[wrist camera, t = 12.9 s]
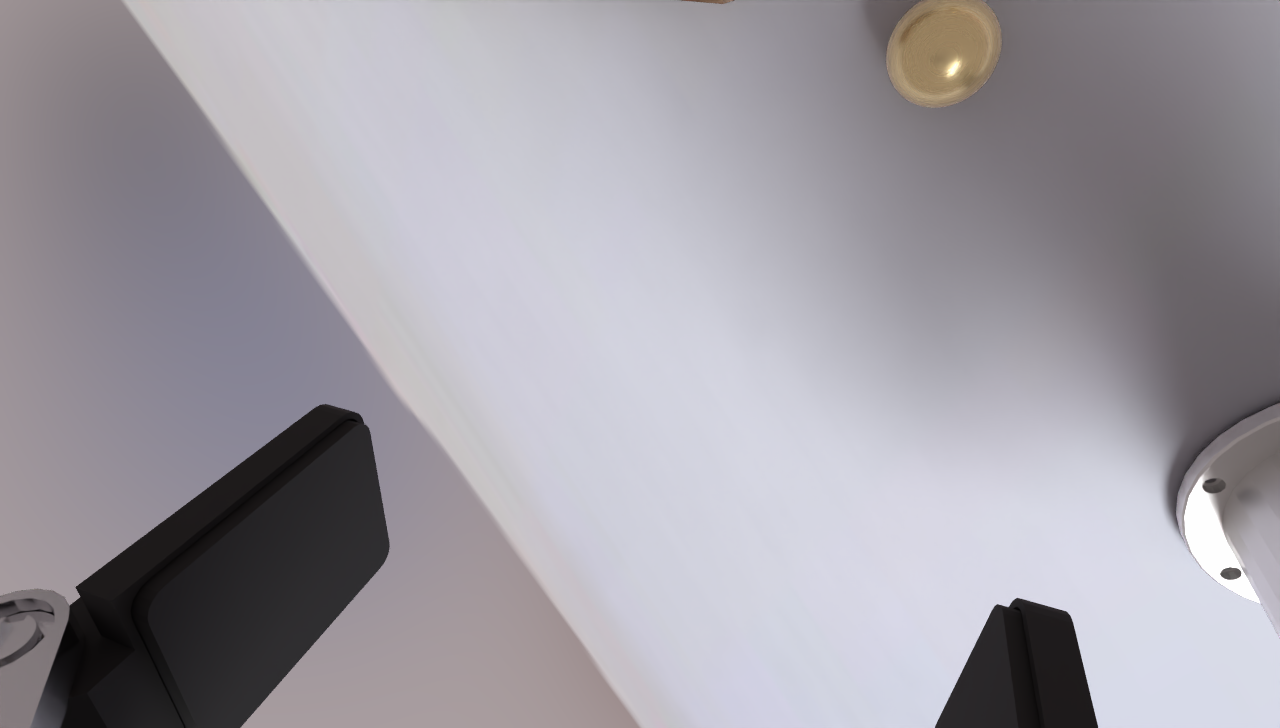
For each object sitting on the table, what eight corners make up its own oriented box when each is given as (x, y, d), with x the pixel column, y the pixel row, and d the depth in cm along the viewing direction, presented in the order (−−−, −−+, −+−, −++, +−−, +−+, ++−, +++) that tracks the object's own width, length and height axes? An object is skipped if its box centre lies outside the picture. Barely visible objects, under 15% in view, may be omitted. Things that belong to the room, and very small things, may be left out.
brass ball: (1009, -7, 26) (1025, -1, 23) (977, 103, 28) (987, 123, 25) (900, -15, 27) (900, -10, 24) (876, 92, 29) (874, 110, 26)
